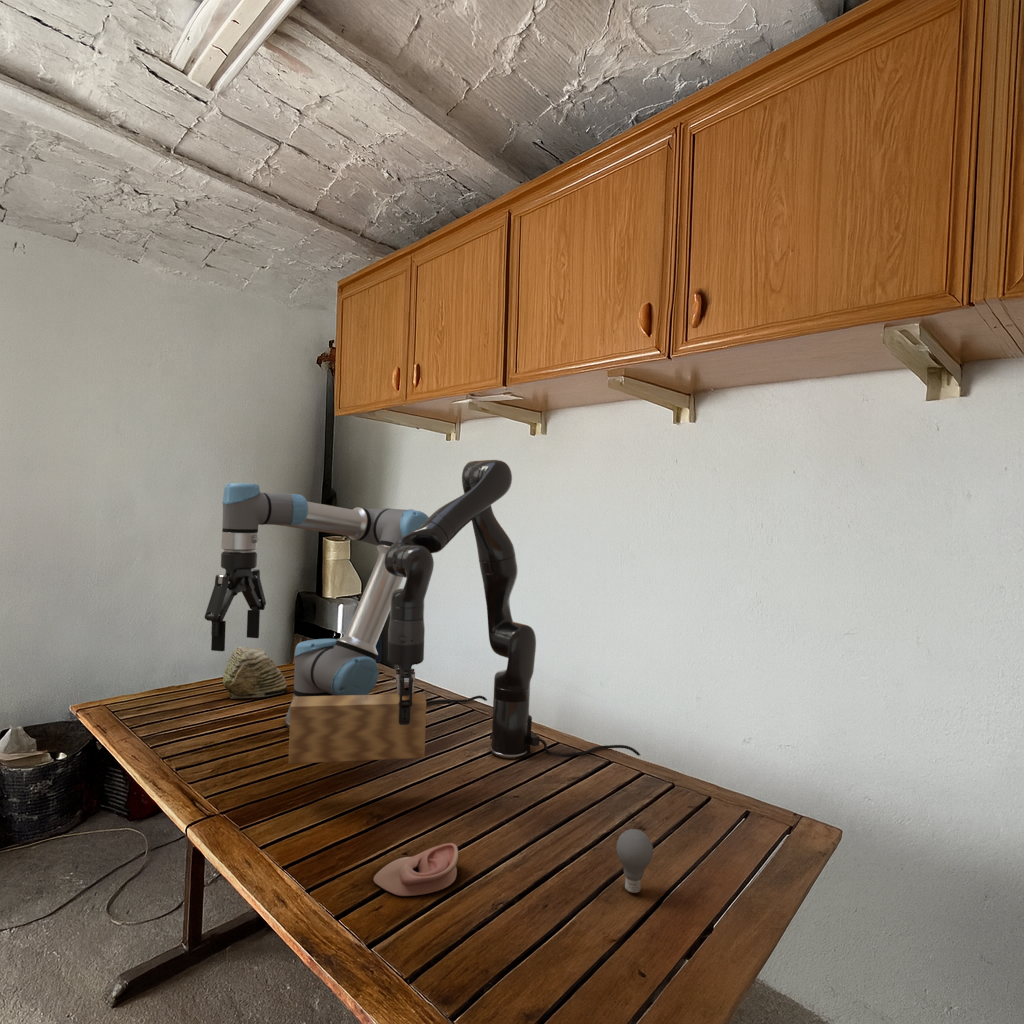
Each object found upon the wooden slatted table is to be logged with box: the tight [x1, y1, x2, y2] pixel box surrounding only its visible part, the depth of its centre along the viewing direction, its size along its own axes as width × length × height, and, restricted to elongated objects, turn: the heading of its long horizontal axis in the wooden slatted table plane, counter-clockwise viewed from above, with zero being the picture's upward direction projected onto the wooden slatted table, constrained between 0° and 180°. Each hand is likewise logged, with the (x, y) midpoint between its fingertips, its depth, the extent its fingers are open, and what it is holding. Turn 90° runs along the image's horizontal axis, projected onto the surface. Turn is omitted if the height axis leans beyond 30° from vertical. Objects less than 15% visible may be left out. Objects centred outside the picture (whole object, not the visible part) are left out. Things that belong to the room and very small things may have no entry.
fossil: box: [222, 646, 288, 699], centre depth 198 cm, size 9×18×15 cm, turn 132°
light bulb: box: [615, 828, 654, 894], centre depth 106 cm, size 6×6×10 cm
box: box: [288, 693, 427, 765], centre depth 131 cm, size 27×6×12 cm, turn 102°
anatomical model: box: [373, 842, 459, 897], centre depth 107 cm, size 13×4×12 cm
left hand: (236, 644), depth 144 cm, fingers open, 13 cm apart
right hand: (403, 717), depth 133 cm, fingers closed on box, 6 cm apart
